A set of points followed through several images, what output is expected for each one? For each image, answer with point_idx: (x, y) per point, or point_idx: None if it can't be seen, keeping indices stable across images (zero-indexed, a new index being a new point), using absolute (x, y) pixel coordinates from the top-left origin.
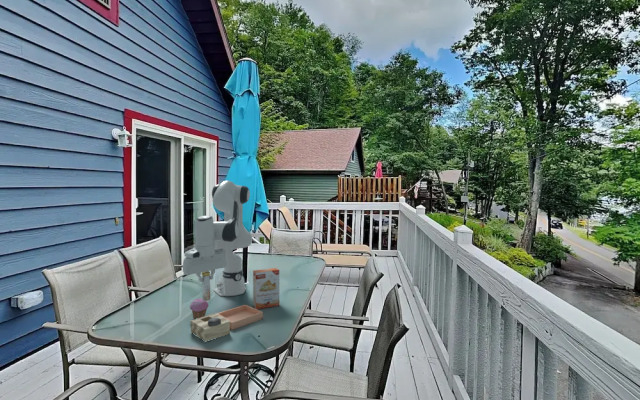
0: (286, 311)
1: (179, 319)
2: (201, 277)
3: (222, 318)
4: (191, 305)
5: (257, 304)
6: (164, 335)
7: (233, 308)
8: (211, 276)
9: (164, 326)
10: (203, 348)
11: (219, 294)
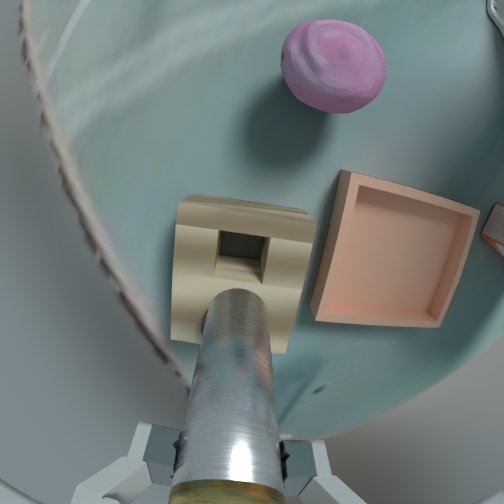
0: (484, 323)
1: (249, 18)
2: (162, 473)
3: (290, 311)
4: (286, 48)
5: (493, 244)
6: (115, 123)
7: (435, 199)
8: (292, 490)
9: (164, 37)
10: (159, 331)
11: (489, 4)
